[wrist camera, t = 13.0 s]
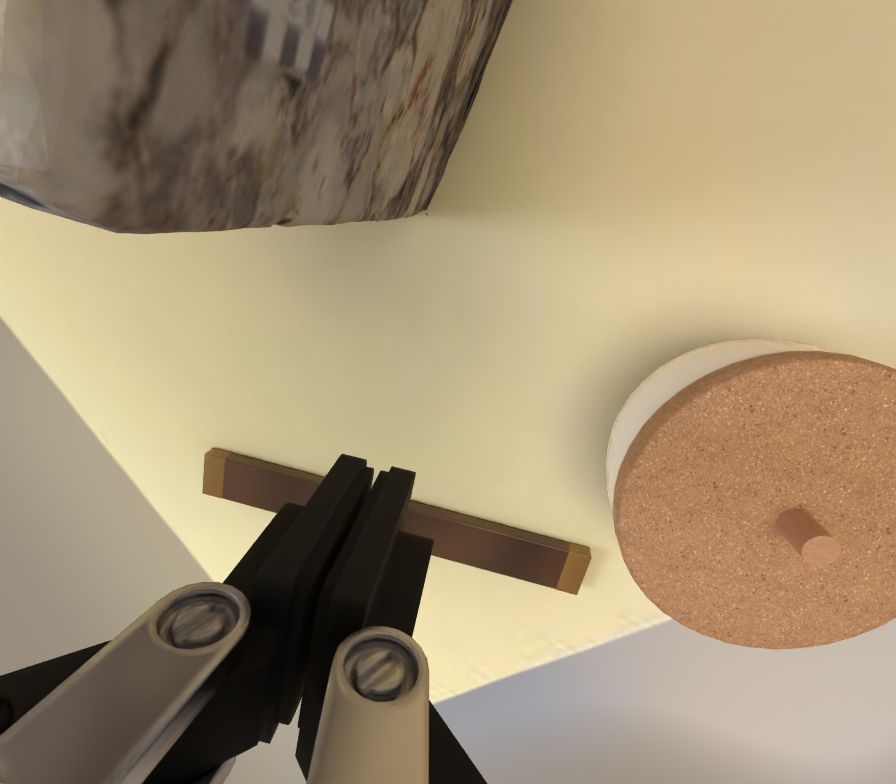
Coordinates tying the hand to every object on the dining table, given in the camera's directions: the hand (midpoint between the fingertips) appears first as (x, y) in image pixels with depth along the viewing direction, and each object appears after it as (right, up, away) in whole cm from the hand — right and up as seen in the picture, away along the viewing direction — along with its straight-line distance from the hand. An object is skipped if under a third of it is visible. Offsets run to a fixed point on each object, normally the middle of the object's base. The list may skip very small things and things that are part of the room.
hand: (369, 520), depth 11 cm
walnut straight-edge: (-1, -4, +16) cm, 16 cm away
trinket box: (+14, +1, +12) cm, 19 cm away
